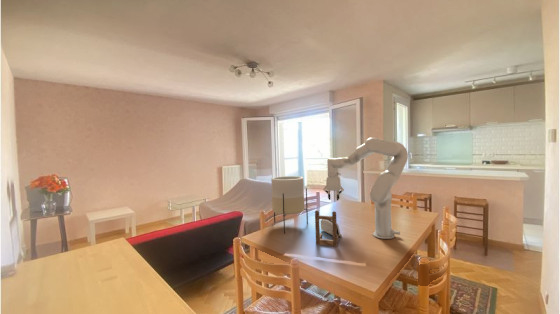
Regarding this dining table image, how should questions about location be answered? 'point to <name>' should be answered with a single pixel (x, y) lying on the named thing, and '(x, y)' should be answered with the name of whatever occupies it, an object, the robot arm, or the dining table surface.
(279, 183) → the planter
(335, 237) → the brown wooden frame
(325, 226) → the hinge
